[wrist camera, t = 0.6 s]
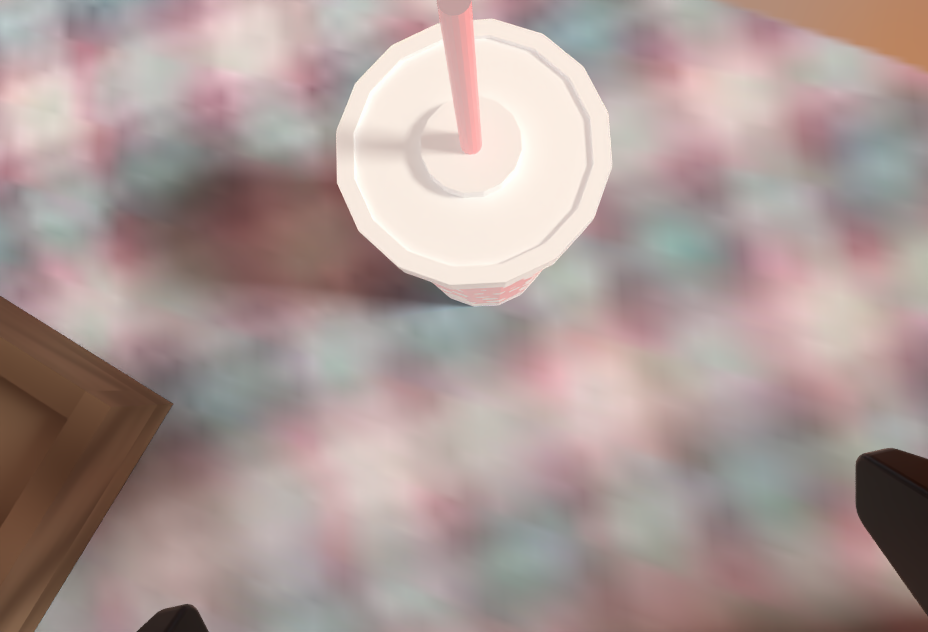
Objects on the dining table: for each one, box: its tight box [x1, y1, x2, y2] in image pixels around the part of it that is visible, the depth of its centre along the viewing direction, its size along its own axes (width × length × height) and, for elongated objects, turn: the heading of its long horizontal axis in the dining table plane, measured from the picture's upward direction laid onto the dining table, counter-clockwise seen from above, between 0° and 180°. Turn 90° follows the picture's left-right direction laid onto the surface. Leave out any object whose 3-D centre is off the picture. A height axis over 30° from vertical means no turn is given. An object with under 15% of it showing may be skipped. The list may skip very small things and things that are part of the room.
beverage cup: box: [336, 0, 612, 306], centre depth 15 cm, size 6×6×14 cm
